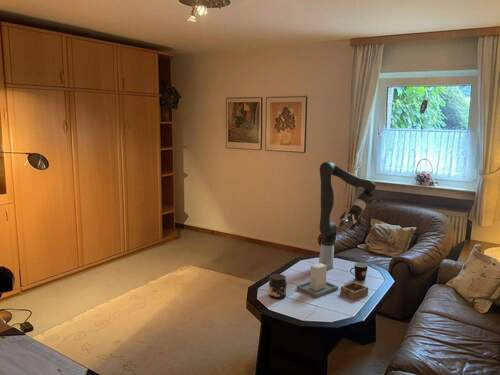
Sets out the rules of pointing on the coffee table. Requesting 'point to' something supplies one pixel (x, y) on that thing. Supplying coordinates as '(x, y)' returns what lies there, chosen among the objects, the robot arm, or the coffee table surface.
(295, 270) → the coffee table surface
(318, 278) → the skincare box
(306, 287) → the tray
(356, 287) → the holder
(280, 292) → the supplement container
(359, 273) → the coffee mug
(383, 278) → the coffee table surface
